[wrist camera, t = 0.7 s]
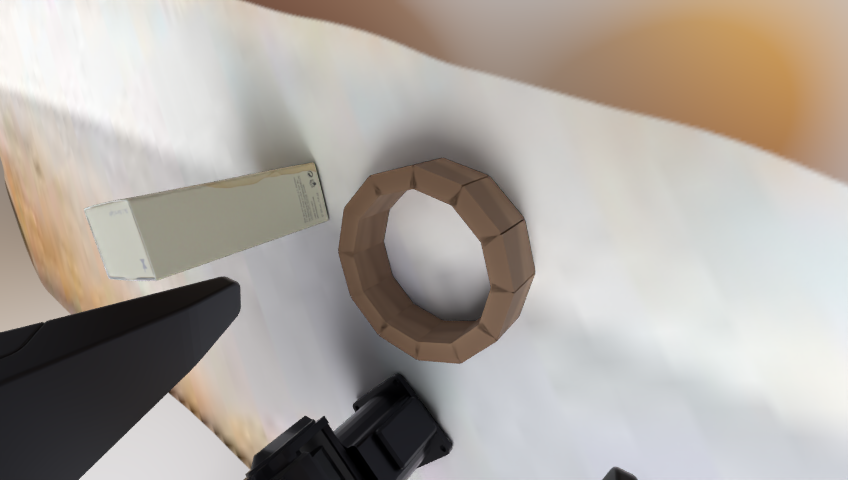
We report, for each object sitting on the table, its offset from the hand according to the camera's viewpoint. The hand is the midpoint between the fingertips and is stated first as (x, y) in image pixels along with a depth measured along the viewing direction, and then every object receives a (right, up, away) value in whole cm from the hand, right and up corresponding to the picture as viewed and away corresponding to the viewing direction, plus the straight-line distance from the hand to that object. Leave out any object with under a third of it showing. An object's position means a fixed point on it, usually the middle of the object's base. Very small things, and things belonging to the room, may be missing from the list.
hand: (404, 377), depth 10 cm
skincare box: (-9, +6, +23) cm, 26 cm away
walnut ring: (+2, +2, +17) cm, 17 cm away
